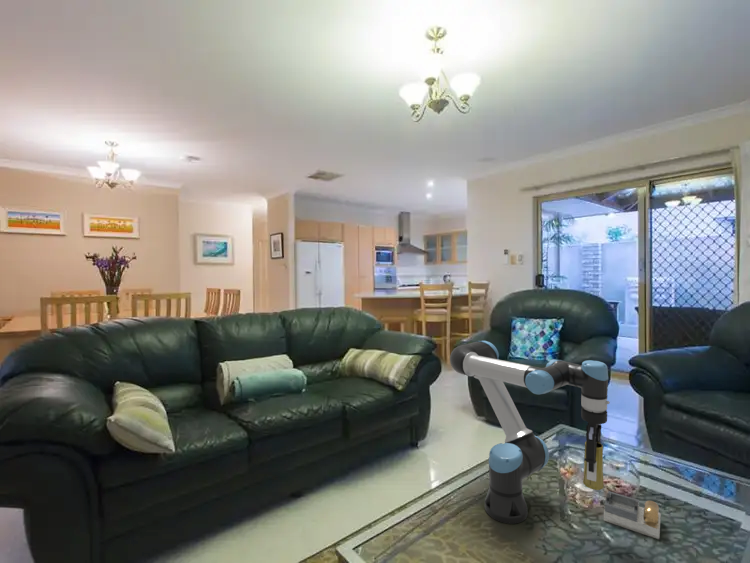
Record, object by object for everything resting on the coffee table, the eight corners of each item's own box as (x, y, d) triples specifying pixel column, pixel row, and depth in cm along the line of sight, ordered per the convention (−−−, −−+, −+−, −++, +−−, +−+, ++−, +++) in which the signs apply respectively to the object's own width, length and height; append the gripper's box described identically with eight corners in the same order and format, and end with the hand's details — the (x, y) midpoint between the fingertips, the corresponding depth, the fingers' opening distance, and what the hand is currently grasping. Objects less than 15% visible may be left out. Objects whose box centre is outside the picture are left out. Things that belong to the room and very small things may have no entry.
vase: (606, 491, 129) (607, 449, 127) (586, 489, 130) (586, 447, 129) (599, 480, 134) (600, 440, 133) (580, 478, 136) (580, 439, 135)
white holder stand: (603, 520, 139) (603, 500, 139) (607, 505, 147) (607, 486, 147) (659, 539, 129) (659, 518, 129) (660, 522, 137) (660, 502, 137)
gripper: (602, 421, 120) (601, 493, 122) (611, 401, 135) (609, 466, 137) (575, 415, 125) (575, 485, 127) (586, 397, 140) (585, 459, 142)
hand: (593, 475), depth 132 cm, fingers closed on vase, 6 cm apart
